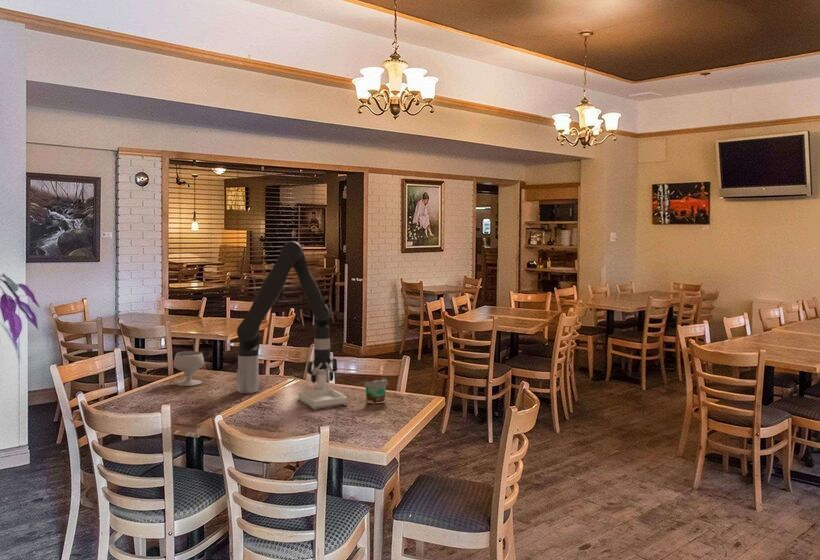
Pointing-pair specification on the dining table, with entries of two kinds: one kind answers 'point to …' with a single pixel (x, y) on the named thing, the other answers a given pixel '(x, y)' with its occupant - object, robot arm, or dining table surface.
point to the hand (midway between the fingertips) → (322, 381)
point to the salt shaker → (321, 379)
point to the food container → (376, 390)
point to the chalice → (188, 366)
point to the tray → (322, 398)
